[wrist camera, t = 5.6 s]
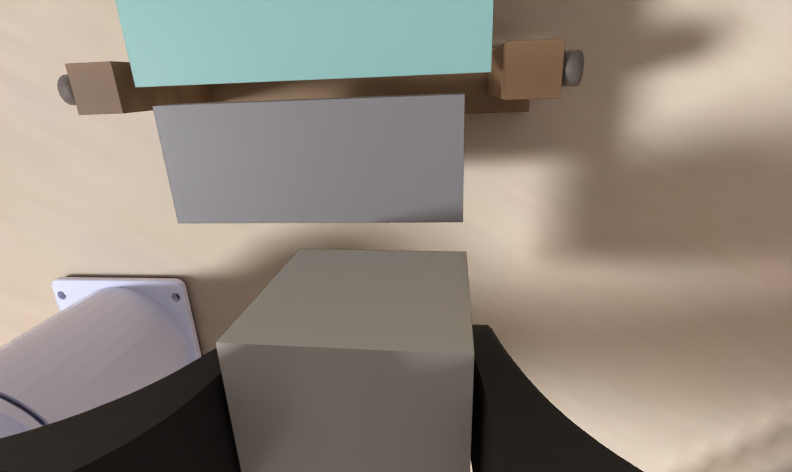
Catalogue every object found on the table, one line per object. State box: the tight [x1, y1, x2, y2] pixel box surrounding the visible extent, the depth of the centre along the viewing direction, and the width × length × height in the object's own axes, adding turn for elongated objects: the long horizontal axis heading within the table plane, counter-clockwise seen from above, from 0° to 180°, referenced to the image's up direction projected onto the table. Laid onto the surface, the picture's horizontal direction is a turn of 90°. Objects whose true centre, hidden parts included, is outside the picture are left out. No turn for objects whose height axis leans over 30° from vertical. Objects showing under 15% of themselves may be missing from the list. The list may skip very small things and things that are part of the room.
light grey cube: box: [215, 249, 474, 472], centre depth 11 cm, size 5×5×5 cm
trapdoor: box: [115, 0, 493, 223], centre depth 14 cm, size 11×12×2 cm
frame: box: [57, 38, 584, 115], centre depth 17 cm, size 3×17×7 cm, turn 92°
